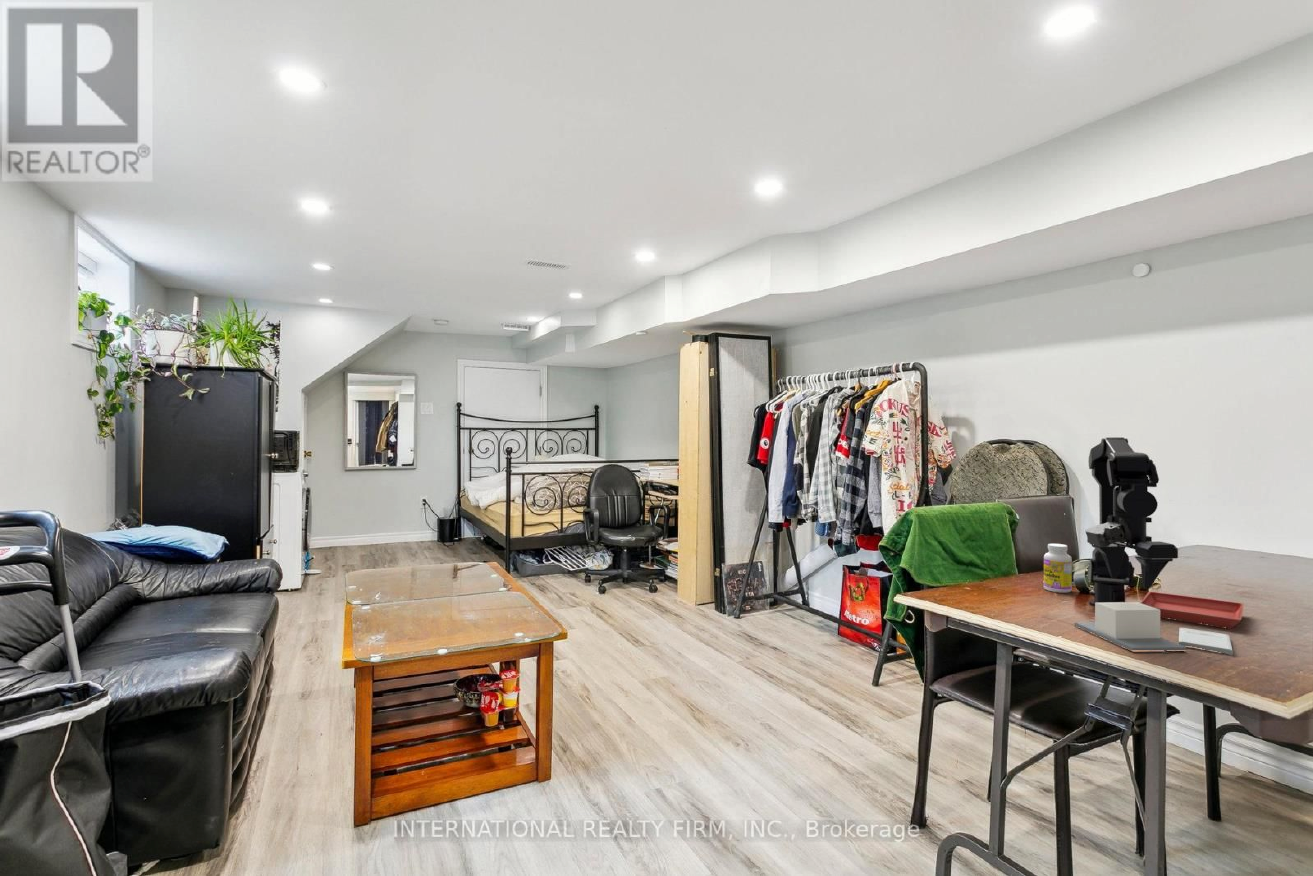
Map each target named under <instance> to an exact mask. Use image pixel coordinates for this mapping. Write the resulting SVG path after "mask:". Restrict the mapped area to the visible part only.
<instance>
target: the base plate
mask: <svg viewBox="0 0 1313 876" xmlns="http://www.w3.org/2000/svg"><path fill="white" fill-rule="evenodd" d="M1075 626H1077V627H1080V628H1082V629H1084V630H1086V631H1088V632H1092V633H1094V634H1095V635H1097V636H1101V637H1103V638H1105V639H1107V640H1108V641H1112V642H1113V643H1115V644H1117V645H1119V646H1123V647H1125V648H1127V649H1129V650H1164V651H1167V650H1186V651H1187V648H1186V647H1185V646H1182V645H1180V644H1179V643H1176V642H1174V641H1173V640H1169V639H1167V638H1164V637H1161V636H1160V638H1129V639H1115V638H1113V637H1111V636H1109V635H1106V634H1104V633H1102V632H1099V631H1097V630H1095V621H1075V622H1074V627H1075ZM1077 627H1076V628H1077ZM1086 631H1085V632H1086ZM1088 632H1087V633H1088ZM1097 636H1096V637H1097ZM1108 641H1107V642H1108ZM1119 646H1118V647H1119Z"/></svg>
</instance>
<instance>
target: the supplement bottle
mask: <svg viewBox="0 0 1313 876" xmlns="http://www.w3.org/2000/svg"><path fill="white" fill-rule="evenodd" d="M1047 550H1048V552H1045V554H1044V555H1043V588H1044V589H1045V590H1047V591H1049V592H1054V593H1061V594H1062V593H1063V594H1064V593H1065V594H1066V593H1070V592H1072V587H1073V585H1072V581H1073V580H1072V579H1073V578H1072V577H1073V574H1072V572H1073V571H1072V570H1073V568H1072V567H1073V566H1072V565H1073V563H1072V562H1073V561H1072V556H1071V555H1069V553H1068V545H1067V544H1061V543H1048V544H1047Z"/></svg>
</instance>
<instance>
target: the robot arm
mask: <svg viewBox="0 0 1313 876" xmlns="http://www.w3.org/2000/svg"><path fill="white" fill-rule="evenodd" d="M1089 451H1090V452H1089V456H1088V469H1089V470H1091V476H1092V477H1093V479H1094V480H1095V482H1096V483H1097V484H1098V489H1099V493H1098V494H1099V495H1098V497H1099V499H1098V500H1099V502H1098V503H1099V524H1098V525H1095V526H1091V527H1089V528H1087V529H1085V530H1084V532H1085V534H1086V537H1087V539H1086V542H1087V543H1089V545H1091V547H1092V548H1094V549H1093V550H1092V556H1091V557H1092V558H1090V559H1089V561H1088V562H1089V563H1088V567H1087V580H1088V581H1089V583H1091V584H1093V589H1094V590H1093V591H1094V593H1093V594H1094V595H1093V598H1094V600H1092V601H1091V600H1088V604H1090V605H1092V606H1095V603H1101V602H1126V592H1125V586H1127V587H1131V586H1133V585H1134V574H1135V569H1136V568H1135V567H1134V566H1133V564H1132V562H1131V561H1130V556H1129V554H1128V553H1127V552H1126V551H1125V550H1126V548H1127V549H1132V550H1134V551H1135V553H1136V555H1137V556H1134V558H1135V559H1136V561H1137V562H1138V563H1139V564H1140V570H1141V582H1142V587H1143V589H1146V590H1149V589H1151V587H1152V586H1153V585H1154V583H1155V581H1156V580H1157V578H1158V576H1160V573H1161V572H1162V571H1163V570H1164V569H1165V567H1166V566H1167V565H1168V564H1169V562H1173V561H1174V559H1179V548H1178V546H1176V545H1175V544H1173V543H1170V542H1165V541H1152V539H1153V538H1152V536H1149V535H1147V523H1152V522H1153V521H1152V519H1153V517H1151V516H1152V515H1153V514H1154V513H1155V512H1156V511H1157V509H1158V501H1157V498H1156V496H1155V495H1154V494H1153V493H1151V492H1150V491H1148V488H1157V487H1158V486H1157V484H1159V481H1160V478H1159V474H1158V470H1157V466H1156V464H1155V463H1154V461H1153V460H1152V459H1150V456H1149V455H1148V454H1147V453H1143V452H1138V451H1137V452H1135V451H1134V449H1133V448H1132V447H1131V446H1130V445H1129V439H1128V438H1125V437H1115V436H1114V437H1110V436H1109V437H1104V438H1101V440H1100V443H1098V444H1097V445H1095V446H1093V447H1092V448H1090V450H1089Z"/></svg>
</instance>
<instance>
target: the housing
mask: <svg viewBox="0 0 1313 876" xmlns="http://www.w3.org/2000/svg"><path fill="white" fill-rule="evenodd" d="M1094 609H1095V610H1094V622H1095V630H1097V631H1099V632H1102V633H1104V634H1106V635H1109V636H1111V637H1113V638H1115V639H1129V638H1160V637H1161V618H1160V610H1159V609H1156V608H1153V607H1151V606H1148V605H1145V604H1142V603H1141V602H1139V601H1132V602H1131V601H1128V602H1127V601H1125V602H1101V603H1095V605H1094Z"/></svg>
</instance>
